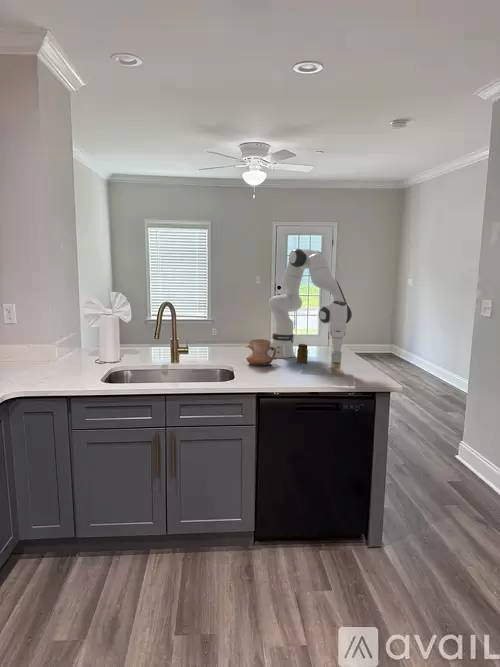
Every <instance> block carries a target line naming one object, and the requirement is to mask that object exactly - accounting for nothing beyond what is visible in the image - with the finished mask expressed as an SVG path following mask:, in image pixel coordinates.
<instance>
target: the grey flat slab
mask: <svg viewBox="0 0 500 667" xmlns="http://www.w3.org/2000/svg"><path fill="white" fill-rule="evenodd" d="M300 374H301V375H311V376H312V375H313V376H314V375H315V376H329V377H339V378H340V377H342V378H343V377H344V370H343V369H340V373H331V368H321V367H305V366H304V367H302V369H301V372H300Z"/></svg>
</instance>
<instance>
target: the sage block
mask: <svg viewBox="0 0 500 667" xmlns="http://www.w3.org/2000/svg"><path fill="white" fill-rule="evenodd" d="M331 362H339V363H342V351H340V352H339V354H338V359H335V352H334V351H333V350H331V359H330V363H331Z"/></svg>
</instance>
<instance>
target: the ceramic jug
mask: <svg viewBox="0 0 500 667" xmlns="http://www.w3.org/2000/svg"><path fill="white" fill-rule="evenodd" d="M270 343H271V339H264V338H257V339H256V338H255V339H254V338H253V339H249V344H246V345H245V348H246V349H247V348H249V349H250V350H251V352H252V353H251V354H249V355H248V356H247V357H246V358H245V359H246V361H247V363H248V364H250V365H253V366H256V367H257V366H259V367H260V366H261V367H263V366H267V365H270V364H271V363H272V362H273V361H274V359H275V358H274V356H275V355H276V348H275V347H274V346H270ZM272 348H273V349H274V354H273V356H272V357H271V356H269V355H268V354H267V352H268V350H270V349H272Z"/></svg>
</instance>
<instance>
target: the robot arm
mask: <svg viewBox="0 0 500 667" xmlns="http://www.w3.org/2000/svg"><path fill="white" fill-rule="evenodd" d="M328 264H329V263H328V261H327V259H326V257H325V255H324V253H322V252H320V251H318V250H312V249H302V248H294V249H292V250H291V251H290V253H289V255H288V262H287V264H286V268H285V271H284V275H283V277H282V282H281V286H282V287H283V288H284V293H283V294H277V295H273V296H271V297H270V298H269V299H268V303H267V305H268V309H269V310H270V311H271V312H272V314H273V316H274V319H275V332H273V333H272V334H271V335H272V336H271V338H272V339H270V341H271V343H270V346H274V347H275V348H276V355H275V356H274V358H273V359H275V358H276V359H286V358H294V357H295V351H294V340H295V339H294V337H295V336H294V321H293V320H292V319H291V318H290V315H289V313H290V312H293V313H294V312H296V311H297V310H300V309H301V308H302V305H303V301H302V298H301V296H300V286H301V282H302V278H303V277H304V276H303V274H304V271H305V269H306V270H307V269H308V270H309V277H310V279H311V282H312V284H313V285H314V286H316V287H317V288H320V289H321V290H325V291H327V292H328V293H330V294H331V295H332V297H333V300H334V301H332V302H331V303H330V304H329V305H326V306H322V307H321V308H320V310H319V313H318V318H319V320H320V321H321V323H323V324H325V325H326V324H329V332H328V335H330V337H331V340H332V351H334V352H335V359H338V354H339V352H342V351H341V350H342V345H343V340H344V338H345V337H346V336H347V324H348V323H349V322H350V320H351V319H352V315H353V314H352V310H351V308H350V306H349V305H348V303H347V301H346V298H345V296H344V293H343V290H342V289H341V286H340V284H339V282H338V281H337V280H336V279H335V278H334V276H333V275H332V273H331V271H330V267H329V265H328ZM267 354H268V355H269V356H271V357H272V356H273V354H274V349H273V348H272V349H270V350H268V352H267Z"/></svg>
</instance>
